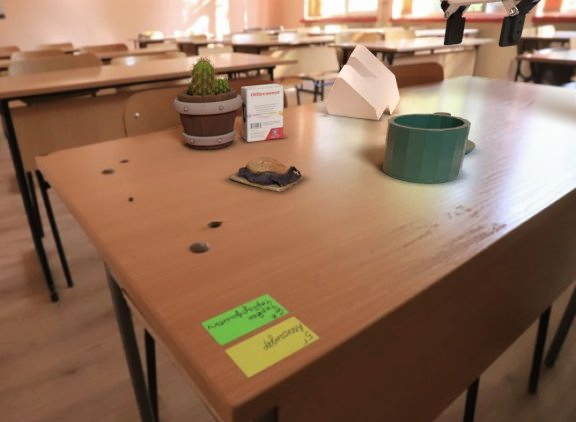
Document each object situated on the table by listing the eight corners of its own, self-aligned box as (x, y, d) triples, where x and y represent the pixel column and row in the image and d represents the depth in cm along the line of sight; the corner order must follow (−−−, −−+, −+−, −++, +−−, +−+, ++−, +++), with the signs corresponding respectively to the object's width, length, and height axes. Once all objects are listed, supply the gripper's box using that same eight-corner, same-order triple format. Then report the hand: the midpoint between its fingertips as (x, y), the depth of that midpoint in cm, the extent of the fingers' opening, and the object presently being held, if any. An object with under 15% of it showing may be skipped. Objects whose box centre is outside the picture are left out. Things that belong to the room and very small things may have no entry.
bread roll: (226, 181, 73) (225, 161, 71) (255, 167, 78) (255, 148, 76) (279, 194, 66) (279, 172, 64) (306, 178, 71) (307, 157, 70)
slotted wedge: (333, 124, 117) (314, 76, 105) (351, 95, 120) (334, 44, 107) (381, 131, 108) (366, 78, 95) (400, 99, 110) (388, 44, 98)
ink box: (276, 133, 99) (277, 82, 94) (283, 138, 95) (284, 85, 90) (241, 137, 98) (240, 85, 93) (247, 142, 94) (246, 88, 89)
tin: (450, 161, 74) (459, 113, 70) (467, 185, 64) (479, 130, 60) (380, 159, 77) (385, 113, 74) (385, 181, 67) (392, 129, 64)
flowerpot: (187, 135, 103) (180, 49, 95) (248, 136, 99) (247, 45, 91) (167, 153, 90) (157, 55, 82) (236, 154, 86) (233, 51, 78)
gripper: (430, -73, 64) (416, 46, 71) (545, -107, 49) (513, 49, 56) (469, -75, 66) (451, 42, 73) (592, -108, 50) (555, 43, 58)
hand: (478, 45), depth 64 cm, fingers open, 9 cm apart
